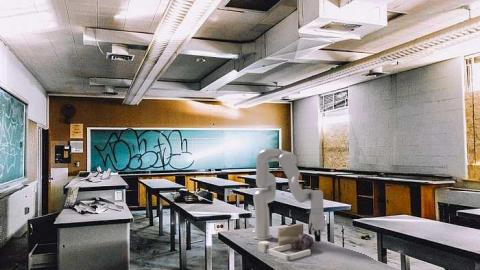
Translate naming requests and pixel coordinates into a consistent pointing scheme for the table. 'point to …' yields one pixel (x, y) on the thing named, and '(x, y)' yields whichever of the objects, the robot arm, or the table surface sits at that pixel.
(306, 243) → the rock
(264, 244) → the letter cube
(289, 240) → the shelf
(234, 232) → the table surface
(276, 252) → the corral
